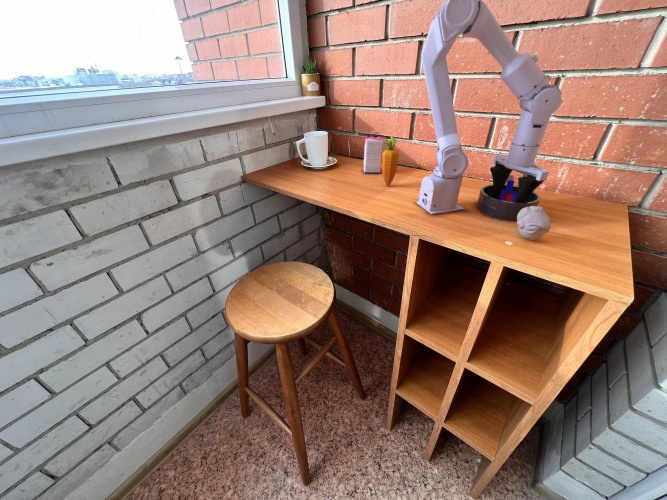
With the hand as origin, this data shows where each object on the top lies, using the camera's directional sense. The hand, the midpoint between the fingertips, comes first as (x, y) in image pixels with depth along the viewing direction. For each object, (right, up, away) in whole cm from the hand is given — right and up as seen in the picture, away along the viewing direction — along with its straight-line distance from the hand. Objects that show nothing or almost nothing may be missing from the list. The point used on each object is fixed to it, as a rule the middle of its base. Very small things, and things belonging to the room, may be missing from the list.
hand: (507, 199), depth 73 cm
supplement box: (-31, +16, +32) cm, 47 cm away
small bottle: (0, -2, +1) cm, 3 cm away
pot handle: (+5, +5, +8) cm, 11 cm away
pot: (0, -2, +2) cm, 3 cm away
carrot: (-27, +7, +18) cm, 34 cm away
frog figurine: (-2, -10, -10) cm, 15 cm away
